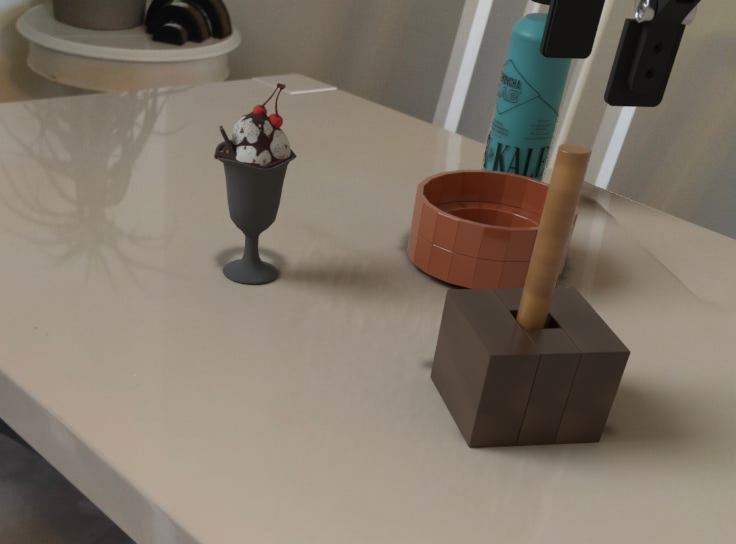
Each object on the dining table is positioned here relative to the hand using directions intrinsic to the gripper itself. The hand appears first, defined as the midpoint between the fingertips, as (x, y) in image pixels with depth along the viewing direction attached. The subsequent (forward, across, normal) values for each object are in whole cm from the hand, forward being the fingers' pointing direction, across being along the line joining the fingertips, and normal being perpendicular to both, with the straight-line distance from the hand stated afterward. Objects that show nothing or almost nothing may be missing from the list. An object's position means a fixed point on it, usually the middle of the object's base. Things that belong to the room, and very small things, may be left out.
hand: (595, 79), depth 57 cm
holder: (+22, 0, 0) cm, 22 cm away
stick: (+22, 0, 0) cm, 22 cm away
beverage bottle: (+22, +41, -14) cm, 49 cm away
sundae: (+22, +24, +15) cm, 36 cm away
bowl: (+22, +25, -6) cm, 34 cm away
